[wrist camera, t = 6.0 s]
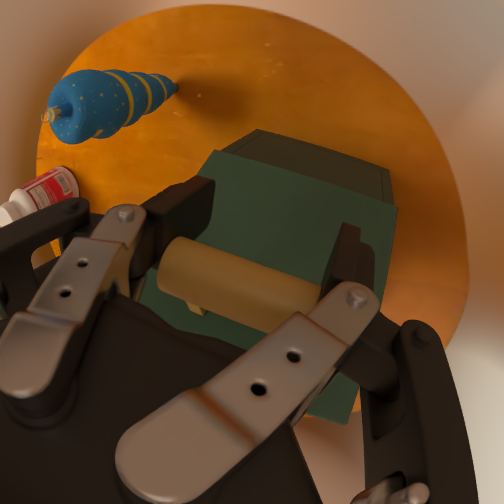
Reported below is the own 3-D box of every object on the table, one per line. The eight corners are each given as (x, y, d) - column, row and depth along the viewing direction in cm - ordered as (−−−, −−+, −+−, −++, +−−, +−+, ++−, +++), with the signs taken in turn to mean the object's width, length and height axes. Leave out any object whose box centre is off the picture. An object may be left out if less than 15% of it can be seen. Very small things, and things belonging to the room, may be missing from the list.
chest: (346, 277, 31) (335, 333, 25) (237, 239, 33) (203, 285, 27) (389, 169, 24) (395, 207, 18) (256, 129, 26) (217, 151, 20)
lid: (341, 425, 12) (394, 424, 7) (111, 329, 14) (52, 281, 9) (393, 215, 18) (430, 146, 13) (215, 158, 20) (207, 84, 15)
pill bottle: (53, 194, 40) (-3, 230, 31) (54, 158, 36) (-9, 192, 27) (80, 213, 40) (22, 255, 31) (82, 176, 36) (16, 215, 27)
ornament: (152, 109, 28) (25, 158, 16) (153, 59, 25) (18, 83, 13) (198, 114, 27) (71, 166, 15) (201, 59, 24) (65, 75, 12)
